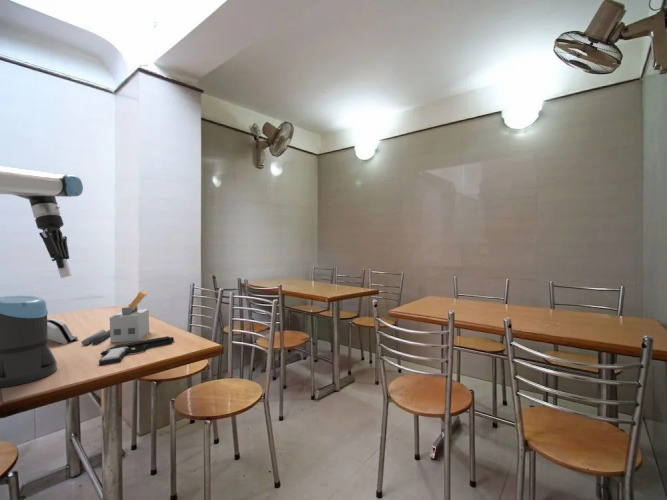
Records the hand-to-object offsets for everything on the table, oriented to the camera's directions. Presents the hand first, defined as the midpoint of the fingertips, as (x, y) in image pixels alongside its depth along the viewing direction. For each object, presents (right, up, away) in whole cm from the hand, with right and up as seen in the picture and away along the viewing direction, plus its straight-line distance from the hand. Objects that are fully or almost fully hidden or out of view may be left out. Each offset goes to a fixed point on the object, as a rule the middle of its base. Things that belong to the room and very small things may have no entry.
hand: (66, 276), depth 117 cm
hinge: (-11, -27, +10) cm, 31 cm away
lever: (+16, -16, +12) cm, 25 cm away
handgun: (+31, -27, -6) cm, 42 cm away
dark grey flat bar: (+5, -26, +10) cm, 29 cm away
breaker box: (+16, -26, +12) cm, 33 cm away
